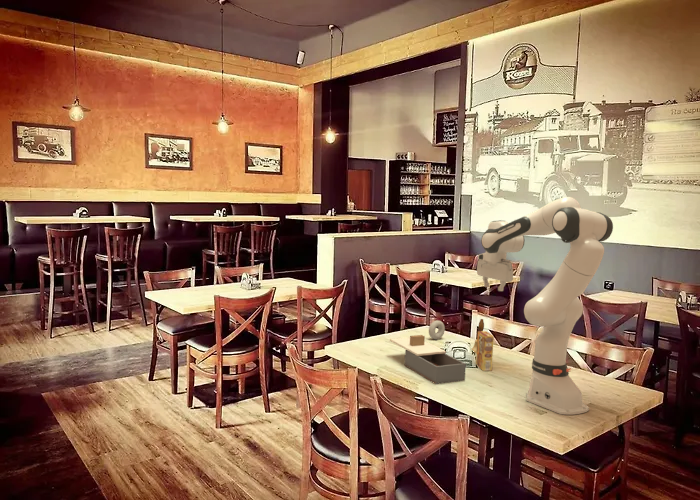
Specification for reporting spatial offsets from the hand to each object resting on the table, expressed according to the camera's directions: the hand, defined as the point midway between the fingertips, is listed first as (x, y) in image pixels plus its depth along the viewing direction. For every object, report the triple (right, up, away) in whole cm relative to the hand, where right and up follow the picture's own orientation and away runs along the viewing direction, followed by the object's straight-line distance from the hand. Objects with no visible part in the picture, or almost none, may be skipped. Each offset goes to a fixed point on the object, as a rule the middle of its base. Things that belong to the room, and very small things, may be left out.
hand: (493, 288), depth 236 cm
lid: (-33, -26, +1) cm, 42 cm away
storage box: (-28, -34, -11) cm, 45 cm away
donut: (-18, -29, +43) cm, 55 cm away
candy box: (-5, -35, -1) cm, 35 cm away
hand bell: (-1, -32, +24) cm, 40 cm away
